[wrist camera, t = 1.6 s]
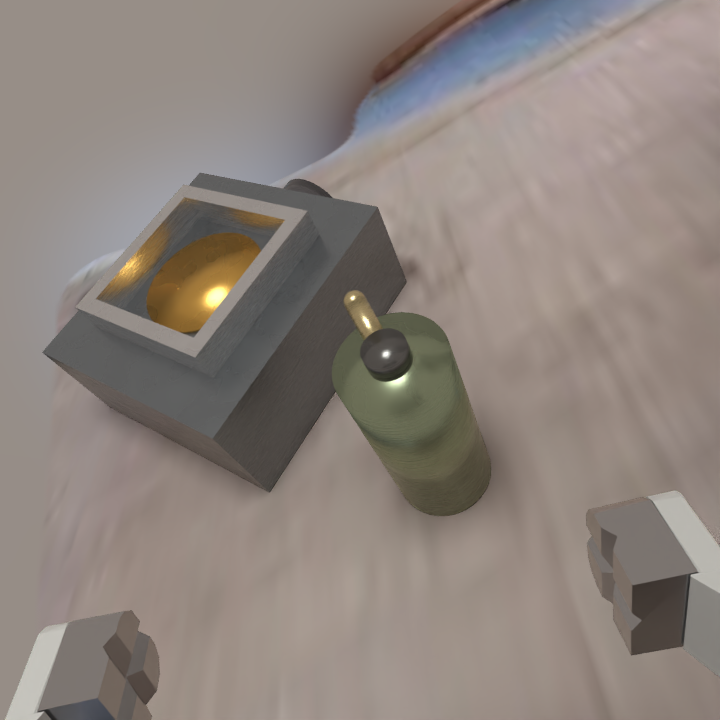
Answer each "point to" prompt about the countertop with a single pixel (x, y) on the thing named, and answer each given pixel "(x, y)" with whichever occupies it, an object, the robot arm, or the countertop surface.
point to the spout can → (412, 407)
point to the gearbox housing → (231, 317)
